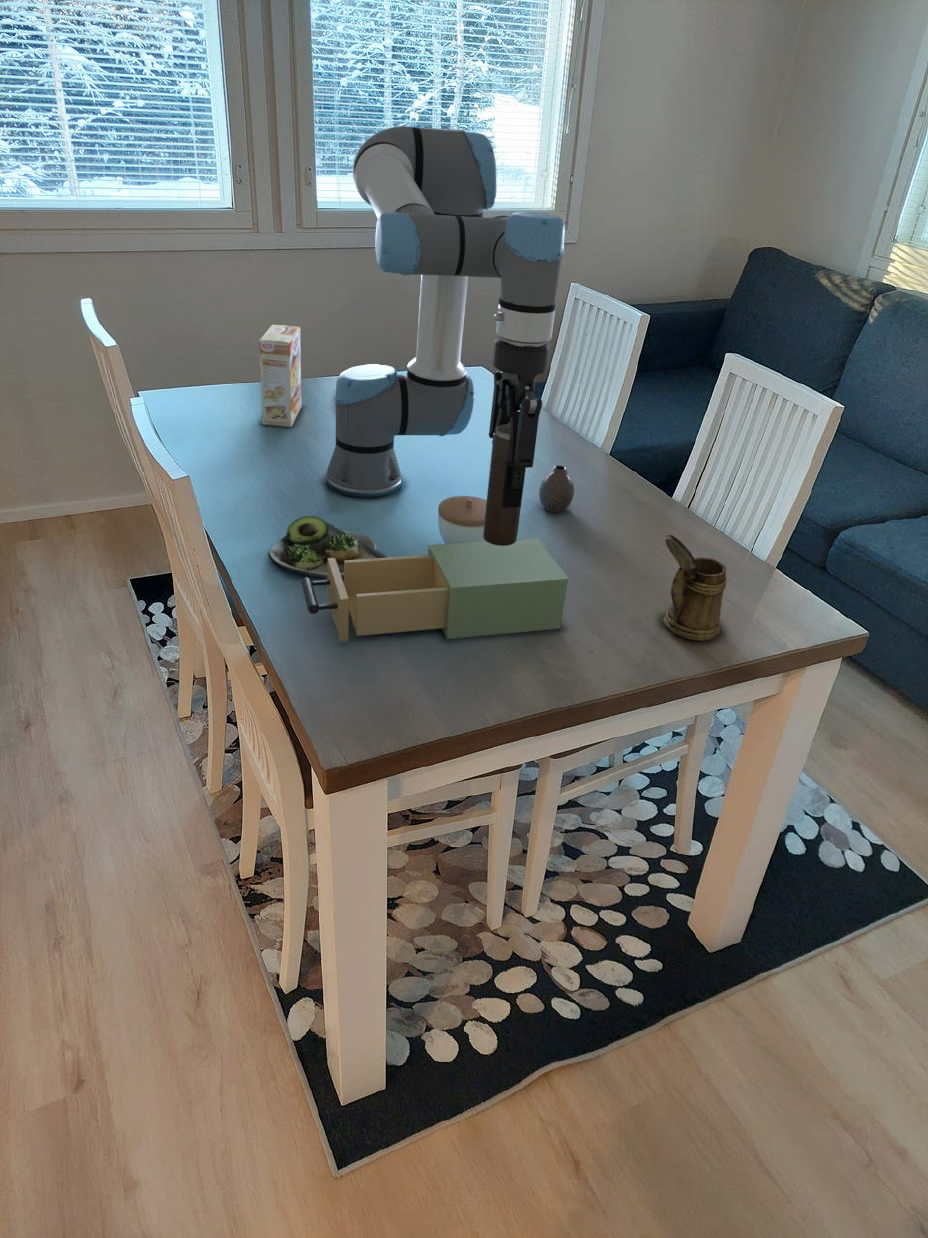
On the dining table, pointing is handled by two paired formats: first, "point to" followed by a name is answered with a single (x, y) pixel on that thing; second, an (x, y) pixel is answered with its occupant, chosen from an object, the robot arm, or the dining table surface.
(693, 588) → the wooden mug
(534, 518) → the dining table surface
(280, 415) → the coffeecake box
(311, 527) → the salad plate
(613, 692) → the dining table surface
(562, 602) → the cabinet
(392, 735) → the dining table surface
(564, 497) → the vase
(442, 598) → the drawer
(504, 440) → the pepper mill
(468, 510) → the trinket box
